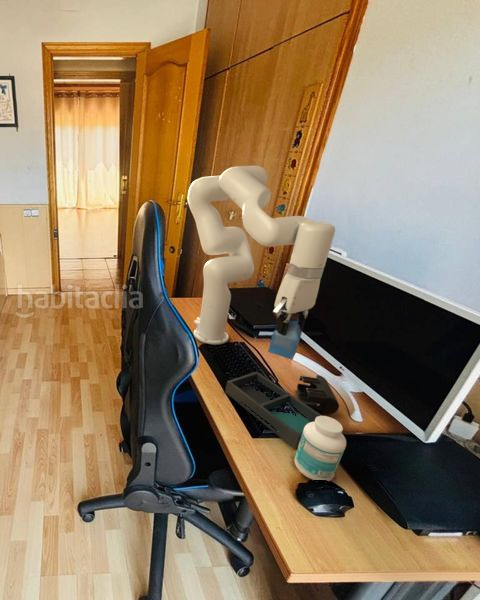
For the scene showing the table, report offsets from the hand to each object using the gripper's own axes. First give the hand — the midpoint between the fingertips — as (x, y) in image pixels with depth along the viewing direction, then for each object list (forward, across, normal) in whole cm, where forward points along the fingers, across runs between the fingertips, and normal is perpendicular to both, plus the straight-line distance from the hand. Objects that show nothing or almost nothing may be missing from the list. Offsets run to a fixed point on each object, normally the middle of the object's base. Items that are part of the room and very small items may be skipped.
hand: (288, 330), depth 92 cm
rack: (+19, +10, +8) cm, 23 cm away
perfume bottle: (+7, 0, 0) cm, 7 cm away
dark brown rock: (+19, -2, +11) cm, 22 cm away
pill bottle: (+19, +18, +25) cm, 36 cm away
